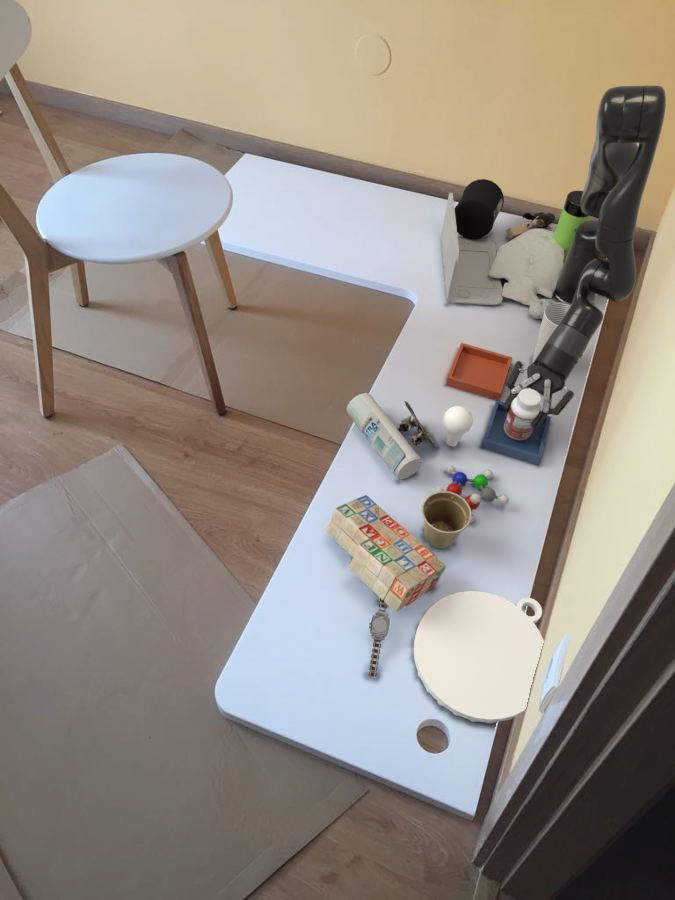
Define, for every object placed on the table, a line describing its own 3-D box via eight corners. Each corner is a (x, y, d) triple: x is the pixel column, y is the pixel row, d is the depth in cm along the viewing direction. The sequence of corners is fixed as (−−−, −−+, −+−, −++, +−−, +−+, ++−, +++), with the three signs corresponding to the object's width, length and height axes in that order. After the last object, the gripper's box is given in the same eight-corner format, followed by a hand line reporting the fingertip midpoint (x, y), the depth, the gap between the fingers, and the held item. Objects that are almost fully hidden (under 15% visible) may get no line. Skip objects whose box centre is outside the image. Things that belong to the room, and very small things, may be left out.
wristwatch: (392, 600, 137) (394, 595, 132) (380, 680, 131) (381, 678, 127) (372, 596, 137) (374, 591, 132) (360, 677, 132) (361, 674, 127)
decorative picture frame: (439, 462, 154) (414, 456, 164) (458, 439, 155) (433, 435, 165) (403, 422, 150) (380, 419, 160) (423, 399, 151) (399, 397, 161)
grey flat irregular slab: (484, 281, 188) (511, 214, 205) (480, 294, 192) (506, 227, 209) (552, 303, 186) (573, 234, 202) (546, 317, 190) (567, 247, 206)
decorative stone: (526, 325, 186) (532, 309, 182) (527, 308, 190) (532, 292, 186) (579, 334, 185) (586, 318, 181) (579, 316, 189) (585, 301, 185)
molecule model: (424, 479, 158) (436, 524, 147) (430, 453, 153) (442, 497, 142) (493, 481, 159) (509, 526, 149) (500, 454, 155) (517, 499, 144)
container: (448, 241, 207) (465, 209, 218) (491, 246, 203) (506, 213, 214) (448, 201, 198) (466, 170, 209) (493, 205, 194) (509, 173, 205)
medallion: (485, 749, 119) (482, 754, 121) (588, 649, 131) (584, 654, 132) (386, 641, 129) (385, 647, 131) (490, 557, 141) (487, 564, 143)
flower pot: (449, 564, 142) (458, 541, 135) (407, 541, 145) (412, 517, 138) (471, 530, 147) (479, 505, 140) (429, 508, 150) (436, 483, 143)
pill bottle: (507, 416, 164) (519, 381, 156) (534, 424, 163) (547, 391, 154) (500, 435, 161) (511, 401, 152) (527, 445, 160) (541, 411, 151)
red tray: (459, 350, 179) (461, 342, 177) (510, 364, 177) (512, 357, 175) (445, 385, 172) (447, 377, 170) (498, 400, 170) (501, 393, 168)
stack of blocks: (355, 517, 148) (313, 535, 139) (366, 493, 145) (324, 511, 136) (433, 589, 139) (394, 613, 130) (447, 565, 136) (408, 589, 127)
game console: (503, 307, 189) (518, 259, 177) (446, 304, 189) (456, 254, 177) (493, 241, 207) (505, 192, 195) (440, 237, 206) (449, 188, 194)
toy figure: (525, 232, 201) (560, 221, 208) (516, 211, 201) (552, 200, 208) (508, 243, 207) (542, 232, 215) (499, 222, 207) (534, 211, 214)
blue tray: (493, 407, 168) (496, 400, 166) (548, 423, 166) (551, 416, 164) (480, 447, 161) (483, 440, 159) (537, 465, 159) (541, 458, 157)
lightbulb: (468, 438, 162) (478, 404, 154) (461, 458, 159) (471, 425, 150) (441, 430, 163) (449, 396, 155) (434, 450, 160) (442, 417, 151)
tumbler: (574, 247, 207) (594, 191, 194) (577, 263, 202) (597, 207, 189) (547, 244, 207) (566, 188, 194) (549, 260, 203) (568, 204, 189)
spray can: (391, 482, 152) (341, 415, 162) (413, 477, 156) (363, 413, 166) (405, 460, 148) (353, 393, 158) (427, 456, 152) (376, 391, 162)
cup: (566, 358, 179) (586, 309, 167) (557, 381, 174) (577, 332, 162) (532, 346, 181) (549, 297, 169) (522, 369, 176) (540, 319, 164)
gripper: (530, 330, 153) (486, 400, 156) (591, 364, 148) (545, 436, 151) (536, 336, 160) (495, 403, 163) (595, 369, 154) (551, 437, 158)
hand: (519, 418), depth 157 cm, fingers closed on pill bottle, 6 cm apart
